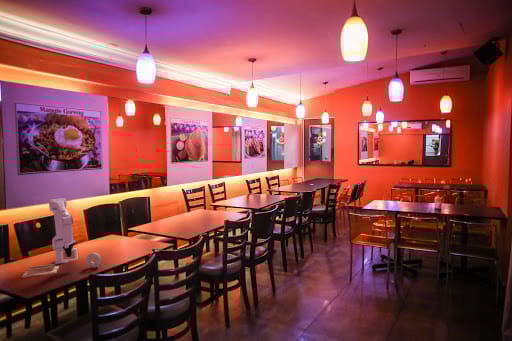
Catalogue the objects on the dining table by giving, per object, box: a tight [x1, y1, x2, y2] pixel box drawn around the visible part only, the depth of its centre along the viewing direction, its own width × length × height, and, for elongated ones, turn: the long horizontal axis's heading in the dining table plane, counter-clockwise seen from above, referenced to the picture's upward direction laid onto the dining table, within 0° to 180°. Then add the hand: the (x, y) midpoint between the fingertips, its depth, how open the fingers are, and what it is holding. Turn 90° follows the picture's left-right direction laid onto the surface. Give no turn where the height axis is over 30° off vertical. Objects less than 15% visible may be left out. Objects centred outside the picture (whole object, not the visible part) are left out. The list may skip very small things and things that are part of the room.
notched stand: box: [21, 263, 60, 279], centre depth 216 cm, size 12×18×4 cm, turn 111°
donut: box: [85, 252, 102, 269], centre depth 221 cm, size 10×4×10 cm, turn 83°
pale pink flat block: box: [61, 247, 79, 262], centre depth 218 cm, size 2×9×7 cm, turn 111°
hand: (69, 255), depth 218 cm, fingers closed on pale pink flat block, 2 cm apart
